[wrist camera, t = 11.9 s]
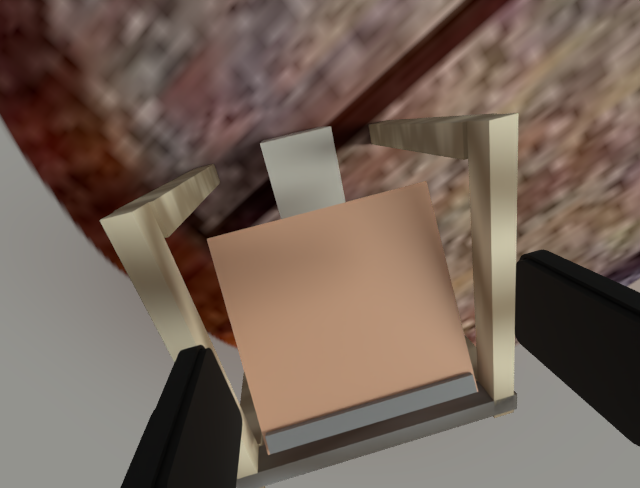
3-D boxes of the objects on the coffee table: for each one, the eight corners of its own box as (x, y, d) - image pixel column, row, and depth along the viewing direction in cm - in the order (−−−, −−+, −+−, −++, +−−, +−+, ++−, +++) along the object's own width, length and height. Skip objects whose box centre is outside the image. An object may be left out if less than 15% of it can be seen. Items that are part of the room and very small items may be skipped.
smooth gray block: (281, 208, 28) (262, 140, 26) (334, 195, 28) (320, 126, 26) (282, 225, 23) (259, 143, 21) (346, 208, 23) (330, 126, 21)
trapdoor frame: (194, 168, 25) (93, 221, 11) (386, 120, 26) (523, 111, 12) (255, 328, 32) (240, 495, 17) (409, 285, 32) (516, 411, 18)
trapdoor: (212, 238, 17) (204, 238, 16) (419, 183, 18) (428, 180, 16) (270, 442, 18) (267, 459, 16) (468, 383, 18) (481, 394, 17)
